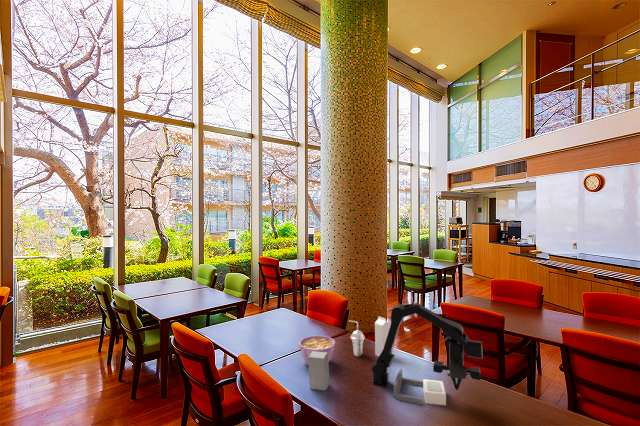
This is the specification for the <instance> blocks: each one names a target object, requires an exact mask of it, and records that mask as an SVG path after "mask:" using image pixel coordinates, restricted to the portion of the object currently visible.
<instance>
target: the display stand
mask: <svg viewBox="0 0 640 426" xmlns="http://www.w3.org/2000/svg"><path fill="white" fill-rule="evenodd" d="M402 384H408V385H414V386H417V387H422V388H423V380H419V379H414V378H410V377H409V378H408V377H403V369H401V368H400V369H399V370H398V373H397V375H396V377H395V379H394V382H393V399H396V400H398V401H403V402H407V403H412V404H418V405H420V406H421V405H423V398H420V397H416V396H412V395H406V394H401V393H400V389H401V387H402Z"/></svg>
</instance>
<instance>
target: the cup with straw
mask: <svg viewBox="0 0 640 426" xmlns="http://www.w3.org/2000/svg"><path fill="white" fill-rule="evenodd" d="M348 322H351V323H356V330H354V331H353V332H352V333H351V335H350V337H349V338H350V339H351V342H352V349H353V350H352V351H353V355H354V356H356V357H361V356H363V355H362V354H363V345H364V340H365V339H366V337H365V335H364V334H363V332H362V331H361V330H359V322H358V321H356V320H350V319H348Z"/></svg>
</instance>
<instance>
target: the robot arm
mask: <svg viewBox="0 0 640 426" xmlns="http://www.w3.org/2000/svg"><path fill="white" fill-rule="evenodd" d="M390 312H391V313H390V329H389V332H388V335H387V339H386V342H385V345H384V348H383V351H382V352H381V354H380V356H377V357H378V358H377V359H376V362H375V363H374V364H373V366H372V367H371V371H372V374H373V375H372V378H373V381H372V385H375V386H381V387H387V385H388V384H389V379H390V377H389V375H390V374H389V372H388V368H390V367H391V366H392V364H393V363H394V358H395V356H396V355H395V354H393V349H394V345H395V342H396V340H397V336H398V333H399V329H400V326H401V324H402V323H403V321H404V319H405V317H409V316H412V315H415V314H416V315H418V316H419V317H421V318H422V319H424V320H426V321H428V322H429V323H431V324H433V325H434V326H436V327H438V328H439V329H441V331H442V333H444V334H445V335H446V336H447V337H445V338H444V340H443V342H444V343H445V344H448V354H449V355H448V356H449V357H448V359H449V360H448V361H449V363H448V365H446V364H444V361H439V360H434V361H433V372H434V373H438V374H442V373H443V372H444V371H446V375H447V377H449V378H451V380H452V383H453V386H454V389H455V390H456V391H458V390H459V388H460V385H461V383H462V381H463V380H466V379H467V378H466V377H468V375H470V378H471V379H472V380H477V381H478V380H479V381H481V379H482V377H481V374H482V373H481V369H480V368H479V367H477V366H476V367H475V366H470V367H469V368H468V367H467V366H464V353H465V356H467V357H470V358H476V359H481V360H482V359H483V355H484V354H483V352H484V351H483V344H482V343H483V342H482V341H481V340H473V339H469V337H468V335H467V334H466V333H465V330H464V327H463V326H462V324H460V323H458V322H455V321H453V320H451V319H446V318H444V317H442V316H441V315H439V314H437V313H435V312H434V311H432V310H430V309H428V308H427V307H425V306H423V305H422V304H421V303H419V302H414V303H407V304H401V303H400V304H397V305H395V307H394V308H393V309H392V310H391V311H390Z"/></svg>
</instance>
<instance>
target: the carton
mask: <svg viewBox="0 0 640 426" xmlns="http://www.w3.org/2000/svg"><path fill="white" fill-rule="evenodd" d="M422 381H423V387H422V388H423V390H422V391H423V397H424V404H431V405H437V406H438V405H440V406H441V405H442V406H447V393H446V389H445V386H444V383H443V382H444V381H443V380H432V379H425V378H423V379H422Z"/></svg>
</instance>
